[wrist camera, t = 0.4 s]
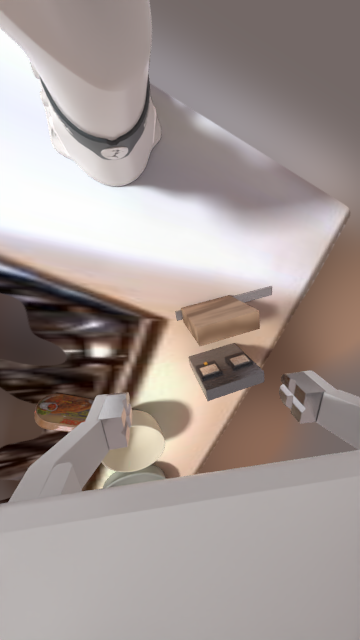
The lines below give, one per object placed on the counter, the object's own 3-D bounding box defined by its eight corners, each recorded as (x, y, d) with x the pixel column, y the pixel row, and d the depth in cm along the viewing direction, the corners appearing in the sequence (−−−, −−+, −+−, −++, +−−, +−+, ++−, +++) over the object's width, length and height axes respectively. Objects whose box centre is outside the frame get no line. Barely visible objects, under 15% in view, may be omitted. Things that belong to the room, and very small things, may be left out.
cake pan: (85, 504, 67) (82, 521, 62) (117, 453, 62) (116, 468, 58) (148, 508, 76) (149, 524, 72) (181, 465, 71) (184, 478, 67)
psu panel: (175, 311, 49) (190, 334, 36) (270, 286, 53) (314, 299, 40) (186, 366, 56) (203, 402, 43) (270, 340, 60) (308, 366, 47)
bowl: (129, 387, 54) (128, 416, 45) (170, 410, 60) (177, 439, 51) (92, 425, 55) (85, 461, 46) (136, 444, 62) (137, 478, 53)
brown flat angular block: (180, 308, 48) (196, 328, 36) (229, 295, 50) (259, 310, 38) (183, 322, 50) (200, 346, 38) (230, 309, 52) (259, 328, 40)
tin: (106, 401, 54) (102, 427, 46) (102, 410, 54) (97, 437, 47) (45, 390, 48) (29, 417, 41) (41, 399, 49) (25, 428, 42)
